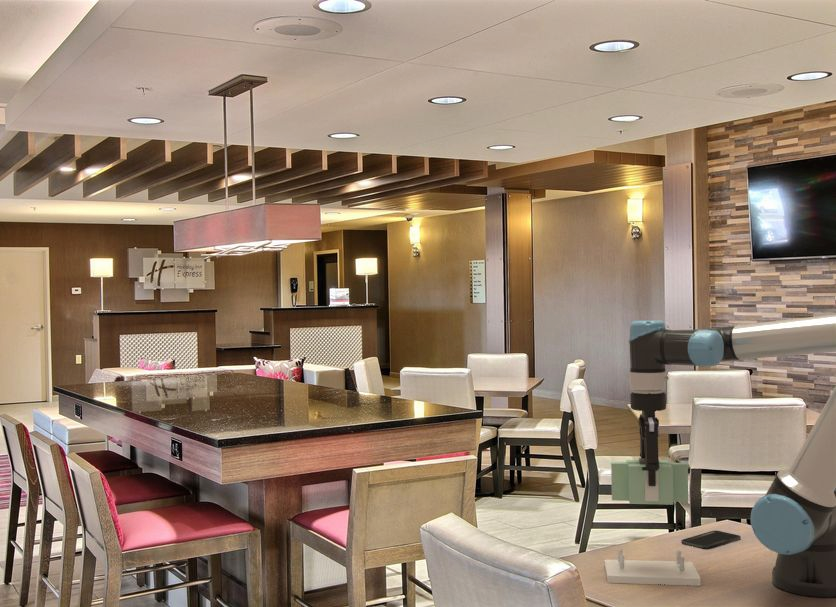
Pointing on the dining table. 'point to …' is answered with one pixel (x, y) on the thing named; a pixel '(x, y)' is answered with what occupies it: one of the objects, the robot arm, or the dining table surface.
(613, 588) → the dining table surface
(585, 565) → the dining table surface
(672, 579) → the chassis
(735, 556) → the dining table surface
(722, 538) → the phone
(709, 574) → the dining table surface
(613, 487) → the green stepped block
